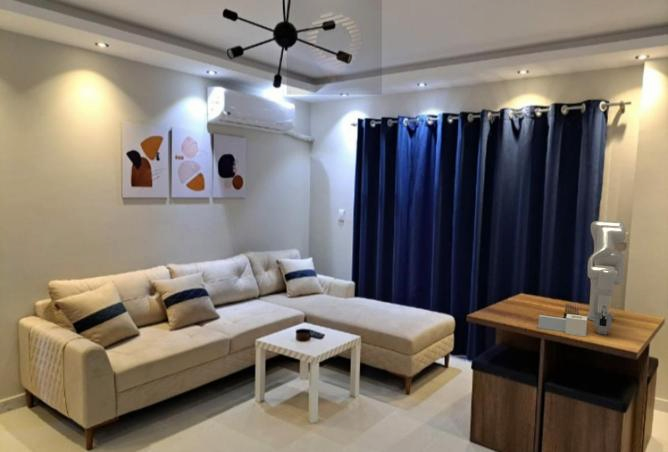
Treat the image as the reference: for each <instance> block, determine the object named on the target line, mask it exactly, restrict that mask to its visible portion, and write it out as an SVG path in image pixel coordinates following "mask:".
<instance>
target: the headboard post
mask: <svg viewBox="0 0 668 452" xmlns="http://www.w3.org/2000/svg"><path fill="white" fill-rule="evenodd" d="M537 324H538V325H537V326H538V327H537V328H538V329H541V330H542V329H543V330H548V331H556V332H561V333H565V335H571V336H572V335H573V336H579V337H583V336H584V338H586V337H587V329H588V328H587V327H588V319H587V316H586V315H580V314H578V315H572V314H567V317H566V319H565V318H564V317H556V316H549V315H542V314H539V316H538V323H537Z"/></svg>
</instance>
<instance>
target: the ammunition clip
mask: <svg viewBox="0 0 668 452" xmlns="http://www.w3.org/2000/svg"><path fill="white" fill-rule="evenodd" d="M567 314H572V315H579V306H578V305H576V304H574V303H570V302H568V301H566V302H565V306H564V313H563V318H565V319H566V317H567Z"/></svg>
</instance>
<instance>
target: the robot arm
mask: <svg viewBox="0 0 668 452" xmlns="http://www.w3.org/2000/svg"><path fill="white" fill-rule="evenodd" d="M590 233H591V236H592V239H593V246H594V247H593V253H592V254H591V255H590V256H589V258H588V261H587V277H588V278H589V279H590V298H589V307H588V308H589V309H588V310H589V312H588V314H587V315H585V316H587V320H590V321H594V322H595V312H596V313H601V318H600V324H599V325H600V326H606V322H607V319H606V315H607V314H612V318H614V317H615V316H616V315H615V313H609V312H610V306H611V305H610V303H611V297H613V296H614V287H615V286H622V285H623V283H624V274H625V273H624V271H625V257H624V253H622V252H621V251H618V250H615V242H616V243H617V242H618V243H620V242H621V243H622V242H625V240H626V238H627V230H626V227H625V224H624V223H623V222H620V221H609V220H596V221H595V220H594V221H593V222H591V224H590ZM595 265H597V266H595ZM602 314H603V315H602Z"/></svg>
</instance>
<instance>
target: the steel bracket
mask: <svg viewBox="0 0 668 452" xmlns="http://www.w3.org/2000/svg"><path fill="white" fill-rule="evenodd" d="M612 314H613V313H610V314H607V315H606V319H607V322H606V326H600V325H599V324H600V318H601V313H596V312H595V321H594V322H593V323H594V324H593V326H594V328H597V334H598V335H604V336H607V330H612V320H613V317H612ZM602 315H603V314H602Z"/></svg>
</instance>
